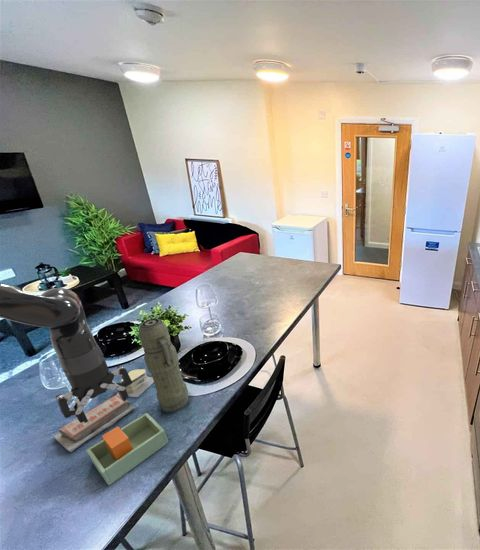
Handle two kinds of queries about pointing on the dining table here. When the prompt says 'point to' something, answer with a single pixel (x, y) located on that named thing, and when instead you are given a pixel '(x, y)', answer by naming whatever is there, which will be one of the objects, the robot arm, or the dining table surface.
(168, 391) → the thermos
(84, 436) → the packaged product
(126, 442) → the block
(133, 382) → the stacked layers on plate
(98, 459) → the bin
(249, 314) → the dining table surface
